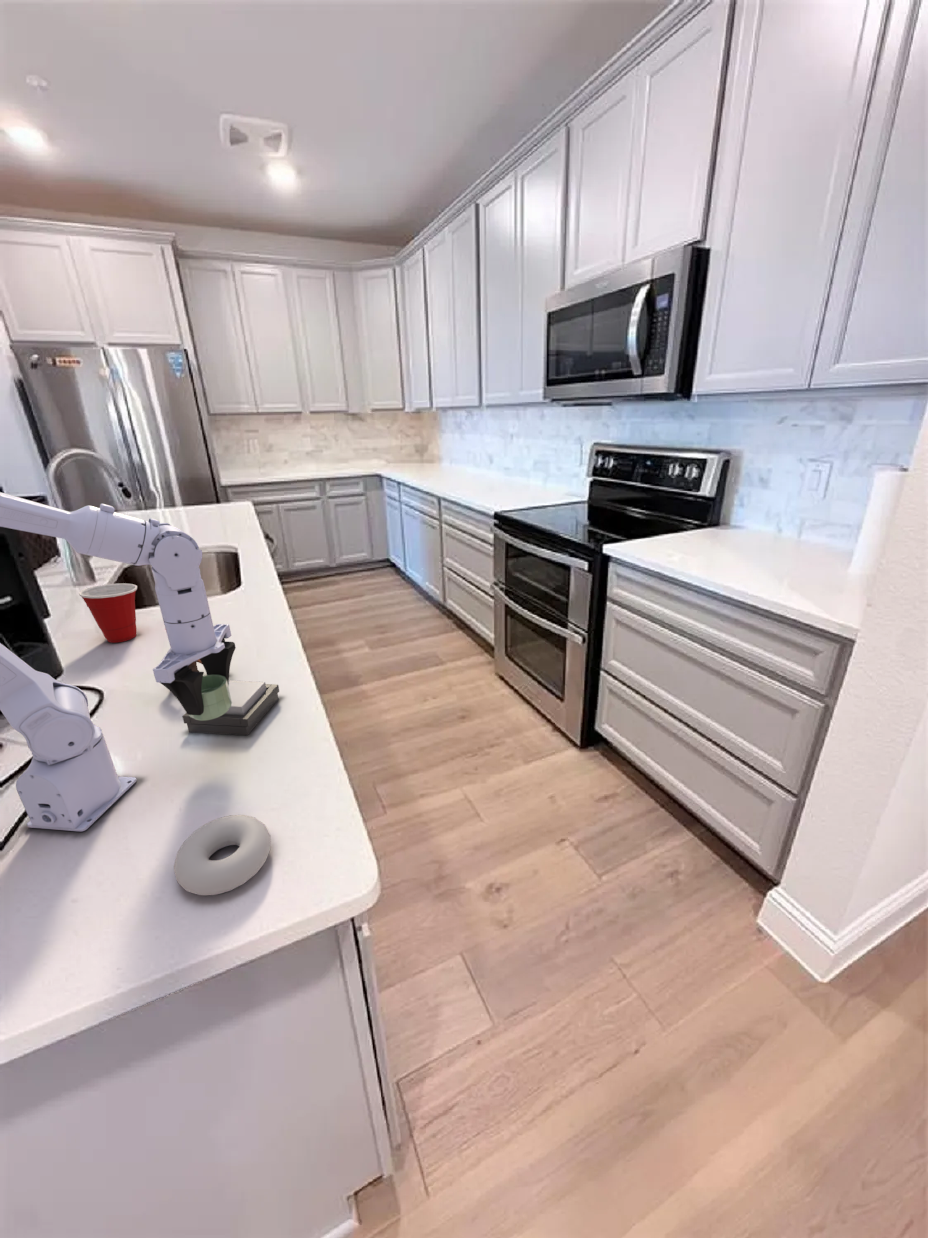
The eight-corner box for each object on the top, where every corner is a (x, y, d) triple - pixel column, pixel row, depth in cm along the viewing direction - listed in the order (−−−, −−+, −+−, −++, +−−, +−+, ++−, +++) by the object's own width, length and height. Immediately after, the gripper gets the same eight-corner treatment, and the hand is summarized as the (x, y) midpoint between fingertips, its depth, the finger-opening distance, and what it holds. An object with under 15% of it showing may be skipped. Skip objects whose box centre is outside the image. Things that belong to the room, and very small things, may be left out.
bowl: (218, 723, 72) (211, 695, 70) (180, 721, 72) (172, 693, 71) (239, 701, 77) (234, 675, 75) (204, 699, 78) (197, 673, 76)
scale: (250, 735, 80) (246, 719, 79) (186, 732, 81) (181, 716, 80) (281, 698, 90) (278, 684, 89) (223, 696, 92) (220, 681, 90)
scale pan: (243, 716, 81) (241, 707, 80) (196, 713, 82) (194, 704, 81) (267, 690, 88) (265, 681, 87) (223, 688, 89) (221, 679, 88)
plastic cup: (160, 632, 118) (147, 583, 114) (113, 651, 110) (97, 599, 105) (131, 624, 123) (117, 577, 118) (84, 642, 114) (67, 592, 109)
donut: (280, 878, 56) (266, 818, 64) (275, 856, 54) (261, 797, 63) (178, 920, 52) (177, 849, 60) (170, 896, 50) (170, 827, 58)
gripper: (180, 639, 62) (205, 732, 67) (242, 597, 75) (258, 678, 80) (127, 637, 62) (155, 729, 68) (198, 596, 76) (216, 676, 81)
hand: (208, 701), depth 74 cm, fingers closed on bowl, 6 cm apart
